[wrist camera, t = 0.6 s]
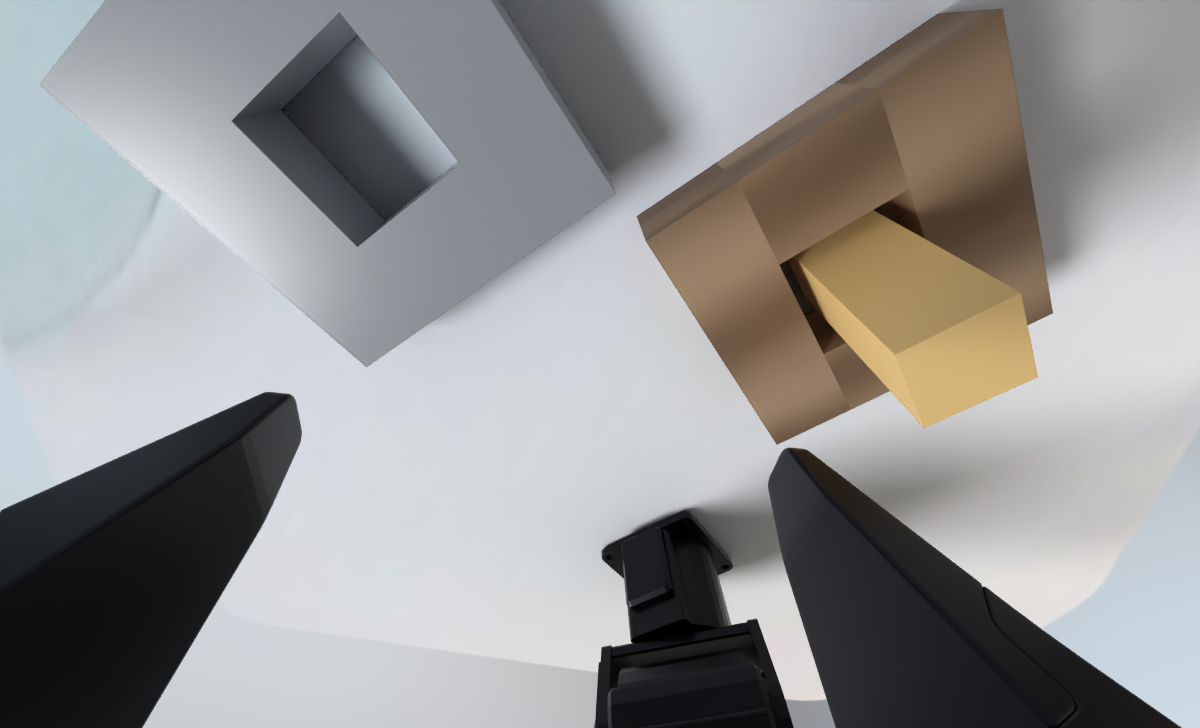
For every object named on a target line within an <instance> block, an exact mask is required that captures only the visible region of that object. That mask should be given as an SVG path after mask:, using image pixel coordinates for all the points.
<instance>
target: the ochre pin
mask: <svg viewBox="0 0 1200 728" xmlns="http://www.w3.org/2000/svg"><path fill="white" fill-rule="evenodd" d="M788 262H789V264H790V266H791V268H792V270H793V272H794V274H795V276H796V278H797V280H798V282H799V285H800V287H801V289H802V291H803V293H804V295H805V297H806V299H807V300H808V301H809V302H810V303H811V304H812V305H813V306H814V307H815V309H816V310H817V311H818V312H819V313H820V314H821V315H822V316H823V317H824V319H825V320H826V321H827V322H828V323H829V324H830V325H831V326H832V327H833V328H834V330H835V331H836V332H837V333H838V334H839V335H840V336H841V337H842V338H843V339H844V341H845V342H846V343H847V344H848V345H849V346H850V347H851V348H852V349H853V350H854V352H855V353H856V354H857V355H858V356H859V357H860V358H861V359H862V360H863V361H864V363H865V364H866V365H867V366H868V367H869V368H870V369H871V370H872V371H873V372H874V374H875V375H876V376H877V377H878V378H879V379H880V380H881V381H882V382H883V383H884V385H885V386H886V387H887V388H888V389H889V390H890V391H891V392H892V393H893V394H894V396H895V397H896V398H897V399H898V400H899V401H900V402H901V403H902V404H903V405H904V407H905V408H906V409H907V410H908V411H909V412H910V413H911V414H912V415H913V416H914V418H915V419H916V420H917V421H918V422H919V423H920V424H921V425H922V426H923V427H924V428H925V427H927V426H930V425H932V424H934V423H936V422H939V421H941V420H943V419H945V418H947V417H950V416H952V415H954V414H956V413H959V412H961V411H963V410H965V409H968V408H970V407H972V406H974V405H977V404H979V403H981V402H983V401H986V400H988V399H990V398H992V397H994V396H997V395H999V394H1001V393H1003V392H1006V391H1008V390H1010V389H1012V388H1015V387H1017V386H1019V385H1021V384H1024V383H1026V382H1028V381H1030V380H1032V379H1035V378H1037V377H1038V375H1037V370H1036V365H1035V360H1034V355H1033V350H1032V345H1031V340H1030V335H1029V331H1028V326H1027V321H1026V316H1025V311H1024V306H1023V301H1022V296H1021V292H1019V291H1017V290H1015V289H1013V288H1012V287H1010V286H1008V285H1006V284H1004V283H1003V282H1001V281H999V280H997V279H996V278H994V277H992V276H990V275H988V274H987V273H985V272H983V271H981V270H979V269H978V268H976V267H974V266H972V265H970V264H969V263H967V262H965V261H963V260H961V259H960V258H958V257H956V256H954V255H953V254H951V253H949V252H947V251H945V250H944V249H942V248H940V247H938V246H936V245H935V244H933V243H931V242H929V241H927V240H926V239H924V238H922V237H920V236H919V235H917V234H915V233H913V232H911V231H910V230H908V229H906V228H904V227H902V226H901V225H899V224H897V223H895V222H893V221H892V220H890V219H888V218H886V217H884V216H883V215H881V214H879V213H877V212H876V211H874V210H872V211H870V212H869V213H867V214H865V215H864V216H862V217H860V218H858V219H857V220H855V221H853V222H852V223H850V224H848V225H846V226H845V227H843V228H841V229H840V230H838V231H836V232H835V233H833V234H831V235H829V236H828V237H826V238H824V239H823V240H821V241H819V242H817V243H816V244H814V245H812V246H811V247H809V248H807V249H805V250H804V251H802V252H800V253H799V254H797V255H795V256H793V257H792V258H790V259H788Z"/></svg>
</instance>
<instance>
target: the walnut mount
mask: <svg viewBox="0 0 1200 728" xmlns="http://www.w3.org/2000/svg"><path fill="white" fill-rule="evenodd" d="M877 207H879V209H880V212H881V215H883V216H884V217H886V218H888V219H890V220H892V221H893V222H895V223H897V224H899V225H901V226H902V227H904V228H906V229H908V230H910V231H911V232H913V233H915V234H917V235H919V236H920V237H922V238H924V239H926V240H927V241H929V242H931V243H933V244H935V245H936V246H938V247H940V248H942V249H944V250H945V251H947V252H949V253H951V254H953V255H954V256H956V257H958V258H960V259H961V260H963V261H965V262H967V263H969V264H970V265H972V266H974V267H976V268H978V269H979V270H981V271H983V272H985V273H987V274H988V275H990V276H992V277H994V278H996V279H997V280H999V281H1001V282H1003V283H1004V284H1006V285H1008V286H1010V287H1012V288H1013V289H1015V290H1017V291H1019V292H1021V296H1022V301H1023V306H1024V311H1025V316H1026V321H1027V325H1029V324H1031V323H1033V322H1036V321H1038V320H1040V319H1042V318H1044V317H1046V316H1048V315H1050V314H1052V313H1053V311H1052V305H1051V299H1050V293H1049V287H1048V281H1047V275H1046V269H1045V263H1044V257H1043V251H1042V245H1041V239H1040V233H1039V227H1038V221H1037V215H1036V209H1035V202H1034V196H1033V190H1032V184H1031V178H1030V172H1029V166H1028V160H1027V154H1026V148H1025V142H1024V136H1023V130H1022V124H1021V118H1020V112H1019V106H1018V100H1017V94H1016V88H1015V82H1014V76H1013V69H1012V63H1011V57H1010V51H1009V45H1008V39H1007V33H1006V27H1005V21H1004V15H1003V9H994V10H981V11H969V12H956V13H944V14H937V15H936V16H934V17H933V18H931V19H930V20H928V21H927V22H925V23H924V24H922V25H921V26H919V27H918V28H916V29H915V30H913V31H912V32H910V33H909V34H907V35H906V36H904V37H903V38H901V39H900V40H898V41H897V42H895V43H894V44H892V45H891V46H889V47H888V48H887V49H885V50H884V51H882V52H881V53H879V54H878V55H876V56H875V57H873V58H872V59H870V60H869V61H867V62H866V63H864V64H863V65H861V66H860V67H858V68H857V69H855V70H854V71H852V72H851V73H849V74H848V75H846V76H845V77H843V78H842V79H840V80H839V81H837V82H836V83H834V84H833V85H832V86H830V87H829V88H827V89H826V90H824V91H823V92H821V93H820V94H818V95H817V96H815V97H814V98H812V99H811V100H809V101H808V102H806V103H805V104H803V105H802V106H800V107H799V108H797V109H796V110H794V111H793V112H791V113H790V114H788V115H787V116H785V117H784V118H782V119H781V120H779V121H778V122H776V123H775V124H774V125H772V126H771V127H769V128H768V129H766V130H765V131H763V132H762V133H760V134H759V135H757V136H756V137H754V138H753V139H751V140H750V141H748V142H747V143H745V144H744V145H742V146H741V147H739V148H738V149H736V150H735V151H733V152H732V153H730V154H729V155H727V156H726V157H724V158H723V159H721V160H720V161H719V162H717V163H716V164H714V165H713V166H711V167H710V168H708V169H707V170H705V171H704V172H702V173H701V174H699V175H698V176H696V177H695V178H693V179H692V180H690V181H689V182H687V183H686V184H684V185H683V186H681V187H680V188H678V189H677V190H675V191H674V192H672V193H671V194H669V195H668V196H666V197H665V198H664V199H662V200H661V201H659V202H658V203H656V204H655V205H653V206H652V207H650V208H649V209H647V210H646V211H644V212H643V213H641V214H640V215H638V216H637V218H638V221H639V223H640V226H641V229H642V232H643V235H644V237H645V240H646V242H647V244H648V245H649V247H650V248H651V250H652V251H653V253H654V255H655V256H656V258H657V259H658V261H659V262H660V264H661V265H662V267H663V269H664V270H665V272H666V273H667V275H668V276H669V278H670V279H671V281H672V283H673V284H674V286H675V287H676V289H677V290H678V292H679V293H680V295H681V297H682V298H683V300H684V301H685V303H686V304H687V306H688V307H689V309H690V310H691V312H692V314H693V315H694V317H695V318H696V320H697V321H698V323H699V324H700V326H701V328H702V329H703V331H704V332H705V334H706V335H707V337H708V338H709V340H710V342H711V343H712V345H713V346H714V348H715V349H716V351H717V352H718V354H719V356H720V357H721V359H722V360H723V362H724V363H725V365H726V366H727V368H728V370H729V371H730V373H731V374H732V376H733V377H734V379H735V380H736V382H737V383H738V385H739V387H740V388H741V390H742V391H743V393H744V394H745V396H746V397H747V399H748V401H749V402H750V404H751V405H752V407H753V408H754V410H755V411H756V413H757V415H758V416H759V418H760V419H761V421H762V422H763V424H764V425H765V427H766V429H767V430H768V432H769V433H770V435H771V436H772V438H773V439H774V441H775V442H776V444H779V443H782V442H784V441H786V440H788V439H790V438H792V437H794V436H796V435H798V434H800V433H803V432H805V431H807V430H809V429H811V428H813V427H815V426H817V425H819V424H821V423H824V422H826V421H828V420H830V419H832V418H834V417H836V416H838V415H840V414H842V413H845V412H847V411H849V410H851V409H853V408H855V407H857V406H859V405H861V404H863V403H866V402H868V401H870V400H872V399H874V398H876V397H878V396H880V395H882V394H884V393H887V392H889V391H890V390H889V389H888V388H887V387H886V386H885V385H884V383H883V382H882V381H881V380H880V379H879V378H878V377H877V376H876V375H875V374H874V372H873V371H872V370H871V369H870V368H869V367H868V366H867V365H866V364H865V363H864V361H863V360H862V359H861V358H860V357H859V356H858V355H857V354H856V353H855V352H854V350H853V349H852V348H851V347H850V346H849V345H848V344H847V343H846V342H845V341H844V339H843V338H842V337H841V336H840V335H839V334H838V333H837V332H836V331H835V330H834V328H833V327H832V326H831V325H830V324H829V323H828V322H827V321H826V320H825V319H824V317H823V316H822V315H821V314H820V313H819V312H818V311H817V310H814V311H813V312H811V313H809V314H807V315H805V316H804V314H803V312H802V310H801V308H800V306H799V304H798V302H797V300H796V298H795V296H794V294H793V292H792V290H791V288H790V286H789V284H788V282H787V280H786V278H785V276H784V274H783V272H782V269H781V267H780V264H782V263H783V262H785V261H787V260H788V259H790V258H792V257H793V256H795V255H797V254H799V253H800V252H802V251H804V250H805V249H807V248H809V247H811V246H812V245H814V244H816V243H817V242H819V241H821V240H823V239H824V238H826V237H828V236H829V235H831V234H833V233H835V232H836V231H838V230H840V229H841V228H843V227H845V226H846V225H848V224H850V223H852V222H853V221H855V220H857V219H858V218H860V217H862V216H864V215H865V214H867V213H869V212H870V211H872V210H874V209H876V208H877Z"/></svg>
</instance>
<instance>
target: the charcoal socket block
mask: <svg viewBox="0 0 1200 728" xmlns="http://www.w3.org/2000/svg"><path fill="white" fill-rule="evenodd" d="M357 35H358V36H359V37H360V38H361V40H362V41H363V42H364V43H365V45H366V46H367V47H368V49H369V50H370V51H371V52H372V54H373V55H374V56H375V57H376V59H377V60H378V61H379V62H380V64H381V65H382V66H383V67H384V69H385V70H386V71H387V72H388V74H389V75H390V76H391V77H392V79H393V80H394V81H395V83H396V84H397V85H398V86H399V88H400V89H401V90H402V91H403V93H404V94H405V95H406V96H407V98H408V99H409V100H410V101H411V103H412V104H413V105H414V106H415V108H416V109H417V110H418V111H419V113H420V114H421V115H422V116H423V118H424V119H425V120H426V122H427V123H428V124H429V125H430V127H431V128H432V129H433V130H434V132H435V133H436V134H437V135H438V137H439V138H440V139H441V140H442V142H443V143H444V144H445V145H446V147H447V148H448V149H449V150H450V152H451V153H452V154H453V156H454V157H455V158H456V159H457V161H458V163H457V164H455V165H454V166H453V167H452V168H451V169H449V170H448V171H447V172H446V173H444V174H443V175H442V176H441V177H439V178H438V179H437V180H436V181H434V182H433V183H432V184H431V185H429V186H428V187H427V188H426V189H424V190H423V191H422V192H421V193H419V194H418V195H417V196H416V197H414V198H413V199H412V200H411V201H409V202H408V203H407V204H406V205H404V206H403V207H402V208H401V209H400V210H398V211H397V212H396V213H395V214H393V215H392V216H391V217H390V218H388V219H387V220H386V221H385V220H384V219H383V218H382V217H381V216H380V215H379V214H378V213H377V212H376V211H375V210H374V209H373V207H372V206H371V205H370V204H369V203H368V202H367V201H366V200H365V199H364V198H363V197H362V196H361V195H360V194H359V193H358V191H357V190H356V189H355V188H354V187H353V186H352V185H351V184H350V183H349V182H348V181H347V180H346V179H345V178H344V177H343V175H342V174H341V173H340V172H339V171H338V170H337V169H336V168H335V167H334V166H333V165H332V164H331V163H330V162H329V161H328V159H327V158H326V157H325V156H324V155H323V154H322V153H321V152H320V151H319V150H318V149H317V148H316V147H315V146H314V144H313V143H312V142H311V141H310V140H309V139H308V138H307V137H306V136H305V135H304V134H303V133H302V132H301V131H300V130H299V128H298V127H297V126H296V125H295V124H294V123H293V122H292V121H291V120H290V119H289V118H288V117H287V116H286V115H285V114H284V112H283V111H282V110H281V109H282V108H283V107H284V106H285V105H286V104H287V103H288V102H289V101H290V100H291V99H292V98H294V97H295V96H296V95H297V94H298V93H299V92H300V91H301V90H302V89H303V88H304V87H305V86H306V85H307V84H308V83H309V82H310V81H311V80H312V79H313V78H314V77H315V76H316V75H317V74H318V73H319V72H320V71H321V70H322V69H323V68H324V67H325V66H326V65H327V64H328V63H329V62H330V61H332V60H333V59H334V58H335V57H336V56H337V55H338V54H339V53H340V52H341V51H342V50H343V49H344V48H345V47H346V46H347V45H348V44H349V43H350V42H351V41H352V40H353V39H354V38H355V37H356V36H357ZM39 85H40V86H41V87H42V88H43V89H44V90H46V91H47V92H48V93H49V94H50V95H51V96H53V97H54V98H55V99H56V100H57V101H58V102H60V103H61V104H62V105H63V106H64V107H65V108H66V109H68V110H69V111H70V112H71V113H72V114H73V115H75V116H76V117H77V118H78V119H79V120H80V121H82V122H83V123H84V124H85V125H86V126H87V127H89V128H90V129H91V130H92V131H93V132H94V133H95V134H97V135H98V136H99V137H100V138H101V139H102V140H104V141H105V142H106V143H107V144H108V145H109V146H111V147H112V148H113V149H114V150H115V151H116V152H117V153H119V154H120V155H121V156H122V157H123V158H124V159H126V160H127V161H128V162H129V163H130V164H131V165H133V166H134V167H135V168H136V169H137V170H138V171H140V172H141V173H142V174H143V175H144V176H145V177H146V178H148V179H149V180H150V181H151V182H152V183H153V184H155V185H156V186H157V187H158V188H159V189H160V190H162V191H163V192H164V193H165V194H166V195H167V196H169V197H170V198H171V199H172V200H173V201H174V202H175V203H177V204H178V205H179V206H180V207H181V208H182V209H184V210H185V211H186V212H187V213H188V214H189V215H191V216H192V217H193V218H194V219H195V220H196V221H197V222H199V223H200V224H201V225H202V226H203V227H204V228H206V229H207V230H208V231H209V232H210V233H211V234H213V235H214V236H215V237H216V238H217V239H218V240H220V241H221V242H222V243H223V244H224V245H225V246H226V247H228V248H229V249H230V250H231V251H232V252H233V253H235V254H236V255H237V256H238V257H239V258H240V259H242V260H243V261H244V262H245V263H246V264H247V265H248V266H250V267H251V268H252V269H253V270H254V271H255V272H257V273H258V274H259V275H260V276H261V277H262V278H264V279H265V280H266V281H267V282H268V283H269V284H271V285H272V286H273V287H274V288H275V289H276V290H277V291H279V292H280V293H281V294H282V295H283V296H284V297H286V298H287V299H288V300H289V301H290V302H291V303H293V304H294V305H295V306H296V307H297V308H298V309H300V310H301V311H302V312H303V313H304V314H305V315H306V316H308V317H309V318H310V319H311V320H312V321H313V322H315V323H316V324H317V325H318V326H319V327H320V328H322V329H323V330H324V331H325V332H326V333H327V334H328V335H330V336H331V337H332V338H333V339H334V340H335V341H337V342H338V343H339V344H340V345H341V346H342V347H344V348H345V349H346V350H347V351H348V352H349V353H351V354H352V355H353V356H354V357H355V358H356V359H357V360H359V361H360V362H361V363H362V364H363V365H364V366H366V367H368V366H369V365H371V364H372V363H373V362H375V361H376V360H378V359H379V358H381V357H382V356H383V355H385V354H386V353H388V352H389V351H391V350H392V349H393V348H395V347H396V346H398V345H399V344H401V343H402V342H403V341H405V340H406V339H408V338H409V337H411V336H412V335H414V334H415V333H416V332H418V331H419V330H421V329H422V328H424V327H425V326H426V325H428V324H429V323H431V322H432V321H434V320H435V319H436V318H438V317H439V316H441V315H442V314H444V313H445V312H446V311H448V310H449V309H451V308H452V307H454V306H455V305H456V304H458V303H459V302H461V301H462V300H464V299H465V298H467V297H468V296H469V295H471V294H472V293H474V292H475V291H477V290H478V289H479V288H481V287H482V286H484V285H485V284H487V283H488V282H489V281H491V280H492V279H494V278H495V277H497V276H498V275H499V274H501V273H502V272H504V271H505V270H507V269H508V268H510V267H511V266H512V265H514V264H515V263H517V262H518V261H520V260H521V259H522V258H524V257H525V256H527V255H528V254H530V253H531V252H532V251H534V250H535V249H537V248H538V247H540V246H541V245H542V244H544V243H545V242H547V241H548V240H550V239H551V238H553V237H554V236H555V235H557V234H558V233H560V232H561V231H563V230H564V229H565V228H567V227H568V226H570V225H571V224H573V223H574V222H575V221H577V220H578V219H580V218H581V217H583V216H584V215H585V214H587V213H588V212H590V211H591V210H593V209H594V208H596V207H597V206H598V205H600V204H601V203H603V202H604V201H606V200H607V199H608V198H610V197H611V196H613V195H614V194H615V191H614V187H613V183H612V180H611V176H610V173H609V172H608V170H607V168H606V167H605V165H604V164H603V162H602V161H601V159H600V157H599V156H598V154H597V153H596V151H595V150H594V148H593V146H592V145H591V143H590V142H589V140H588V139H587V137H586V135H585V134H584V132H583V131H582V129H581V127H580V126H579V124H578V123H577V121H576V120H575V118H574V116H573V115H572V113H571V112H570V110H569V109H568V107H567V105H566V104H565V102H564V101H563V99H562V98H561V96H560V94H559V93H558V91H557V90H556V88H555V87H554V85H553V83H552V82H551V80H550V79H549V77H548V76H547V74H546V72H545V71H544V69H543V68H542V66H541V65H540V63H539V61H538V60H537V58H536V57H535V55H534V54H533V52H532V50H531V49H530V47H529V46H528V44H527V43H526V41H525V39H524V38H523V36H522V35H521V33H520V32H519V30H518V28H517V27H516V25H515V24H514V22H513V21H512V19H511V17H510V16H509V14H508V13H507V11H506V9H505V8H504V6H503V5H502V3H501V2H500V0H105V2H104V3H103V4H102V5H101V7H100V8H99V9H98V10H97V12H96V13H95V14H94V16H93V17H92V18H91V19H90V21H89V22H88V23H87V24H86V26H85V27H84V28H83V29H82V31H81V32H80V33H79V34H78V36H77V37H76V38H75V40H74V41H73V42H72V43H71V45H70V46H69V47H68V48H67V50H66V51H65V52H64V53H63V55H62V56H61V57H60V58H59V60H58V61H57V62H56V64H55V65H54V66H53V67H52V69H51V70H50V71H49V72H48V74H47V75H46V76H45V77H44V79H43V80H42V81H41V82H40V84H39Z"/></svg>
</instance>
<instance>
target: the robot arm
mask: <svg viewBox="0 0 1200 728" xmlns="http://www.w3.org/2000/svg"><path fill="white" fill-rule="evenodd" d="M301 437H302V430H301V425H300V419H299V414H298V409H297V404H296V401H295V398H294V397H293V396H292V395H290V394H284V393H275V392H265V393H262V394H260V395H258V396H255V397H253V398H251V399H249V400H246V401H244V402H242V403H240V404H238V405H235V406H233V407H231V408H229V409H226V410H224V411H222V412H220V413H217V414H215V415H213V416H211V417H208V418H206V419H204V420H202V421H199V422H197V423H195V424H193V425H191V426H188V427H186V428H184V429H182V430H179V431H177V432H175V433H173V434H170V435H168V436H166V437H164V438H161V439H159V440H157V441H155V442H152V443H150V444H148V445H146V446H144V447H141V448H139V449H137V450H135V451H132V452H130V453H128V454H126V455H123V456H121V457H119V458H117V459H114V460H112V461H110V462H108V463H105V464H103V465H101V466H99V467H96V468H94V469H92V470H90V471H88V472H85V473H83V474H81V475H79V476H76V477H74V478H72V479H70V480H67V481H65V482H63V483H61V484H58V485H56V486H54V487H52V488H49V489H47V490H45V491H43V492H40V493H38V494H36V495H34V496H32V497H29V498H27V499H25V500H23V501H20V502H18V503H16V504H14V505H11V506H9V507H7V508H5V509H3V510H1V512H0V728H142V727H143V726H144V724H145V722H146V721H147V719H148V717H149V715H150V714H151V712H152V710H153V709H154V707H155V705H156V703H157V702H158V700H159V699H160V697H161V695H162V694H163V692H164V690H165V689H166V687H167V685H168V684H169V682H170V680H171V679H172V677H173V675H174V674H175V672H176V670H177V668H178V667H179V665H180V663H181V662H182V660H183V658H184V657H185V655H186V653H187V652H188V650H189V648H190V647H191V645H192V643H193V642H194V639H195V638H196V637H197V635H198V633H199V631H200V630H201V628H202V626H203V625H204V623H205V621H206V620H207V618H208V616H209V615H210V613H211V611H212V610H213V608H214V606H215V605H216V603H217V601H218V600H219V598H220V596H221V595H222V593H223V591H224V590H225V588H226V586H227V584H228V583H229V581H230V579H231V578H232V576H233V574H234V573H235V571H236V569H237V568H238V566H239V564H240V563H241V561H242V559H243V558H244V556H245V554H246V553H247V551H248V549H249V548H250V546H251V544H252V542H253V541H254V539H255V537H256V536H257V534H258V532H259V530H260V529H261V527H262V525H263V523H264V522H265V520H266V517H267V515H268V513H269V511H270V509H271V507H272V505H273V503H274V500H275V498H276V496H277V494H278V491H279V489H280V487H281V485H282V483H283V480H284V478H285V476H286V474H287V471H288V469H289V467H290V465H291V463H292V460H293V458H294V456H295V454H296V451H297V449H298V447H299V445H300V442H301ZM768 489H769V495H770V499H771V504H772V509H773V514H774V519H775V524H776V529H777V534H778V539H779V544H780V549H781V553H782V557H783V561H784V565H785V568H786V572H787V575H788V578H789V581H790V585H791V588H792V591H793V594H794V597H795V600H796V603H797V607H798V610H799V613H800V616H801V619H802V622H803V626H804V629H805V632H806V635H807V638H808V641H809V645H810V648H811V651H812V654H813V657H814V660H815V663H816V667H817V670H818V673H819V676H820V679H821V682H822V686H823V689H824V692H825V695H826V698H827V701H828V705H829V707H830V711H831V714H832V717H833V720H834V723H835V726H836V728H1181V727H1180V726H1178V725H1177V724H1175V723H1174V722H1173V721H1171V720H1170V719H1168V718H1167V717H1166V716H1164V715H1163V714H1161V713H1160V712H1158V711H1157V710H1156V709H1154V708H1153V707H1151V706H1150V705H1148V704H1147V703H1145V702H1144V701H1143V700H1141V699H1140V698H1138V697H1137V696H1136V695H1134V694H1132V693H1131V692H1130V691H1128V690H1127V689H1125V688H1124V687H1123V686H1121V685H1120V684H1118V683H1117V682H1115V681H1114V680H1113V679H1111V678H1110V677H1108V676H1107V675H1105V674H1104V673H1103V672H1101V671H1100V670H1098V669H1097V668H1095V667H1094V666H1093V665H1091V664H1090V663H1088V662H1087V661H1085V660H1084V659H1083V658H1081V657H1080V656H1078V655H1077V654H1076V653H1074V652H1073V651H1071V650H1070V649H1068V648H1067V647H1066V646H1064V645H1063V644H1061V643H1060V642H1059V641H1057V640H1056V639H1054V638H1053V637H1052V636H1050V635H1049V634H1047V633H1046V632H1045V631H1043V630H1042V629H1041V628H1039V627H1038V626H1037V625H1035V624H1034V623H1033V622H1031V621H1030V620H1029V619H1027V618H1026V617H1025V616H1023V615H1022V614H1021V613H1019V612H1018V611H1017V610H1015V609H1014V608H1013V607H1011V606H1010V605H1009V604H1007V603H1006V602H1005V601H1003V600H1002V599H1001V598H999V597H998V596H997V595H996V594H994V593H993V592H992V591H990V590H989V589H988V588H986V587H982V585H981V583H980V582H979V581H977V580H976V579H975V578H973V577H972V576H971V575H969V574H968V573H967V572H966V571H964V570H963V569H962V568H960V567H959V566H958V565H956V564H955V563H954V562H952V561H951V560H950V559H949V558H947V557H946V556H945V555H943V554H942V553H941V552H939V551H938V550H937V549H936V548H934V547H933V546H932V545H930V544H929V543H928V542H926V541H925V540H924V539H923V538H921V537H920V536H919V535H917V534H916V533H915V532H913V531H912V530H911V529H910V528H908V527H907V526H906V525H904V524H903V523H902V522H900V521H899V520H898V519H896V518H895V517H894V516H893V515H891V514H890V513H889V512H887V511H886V510H885V509H883V508H882V507H881V506H880V505H878V504H877V503H876V502H874V501H873V500H872V499H870V498H869V497H868V496H867V495H865V494H864V493H863V492H861V491H860V490H859V489H857V488H856V487H855V486H854V485H852V484H851V483H850V482H848V481H847V480H846V479H844V478H843V477H842V476H841V475H839V474H838V473H837V472H835V471H834V470H833V469H831V468H830V467H829V466H827V465H826V464H825V463H824V462H822V461H821V460H820V459H818V458H817V457H816V456H814V455H813V454H812V453H811V452H809V451H808V450H805V449H798V448H786V449H784V450H783V451H782V453H781V454H780V456H779V459H778V461H777V463H776V465H775V467H774V469H773V471H772V473H771V475H770V478H769V482H768ZM602 559H603V561H604V562H606V563H607V564H608V565H609V566H610V567H611V568H612V569H614V570H615V571H616V572H617V573H618V574H619V575H620V576H621V577H623V578H624V581H625V592H626V603H627V606H628V616H629V627H630V638H631V642H632V643H631V644H626V645H621V646H615V647H612V646H611V645H610V646H605V647H602V651H601V662H599V669H598V687H597V703H596V720H595V725H594V728H793V724H792V721H791V718H790V714H789V711H788V708H787V704H786V701H785V698H784V695H783V692H782V689H781V686H780V683H779V680H778V677H777V674H776V672H775V669H774V666H773V663H772V660H771V657H770V655H769V652H768V649H767V646H766V643H765V640H764V638H763V635H762V632H761V629H760V626H759V623H758V621H757V619H752V620H747V622H746V623H741V624H735V625H731V622H730V618H729V614H728V611H727V607H726V603H725V600H724V596H723V592H722V588H721V585H720V581H719V577H718V575H719V574H722V573H724V572H726V571H729V570H731V569H732V568H733V564H732V561H731V559H730V557H729V556H728V555H727V554H726V553H725V552H724V551H723V549H722V548H721V547H720V546H719V545H718V544H717V543H716V542H715V540H714V539H713V538H712V537H711V536H710V535H709V534H708V532H707V531H706V530H705V529H704V528H703V527H702V526H701V524H700V523H699V522H698V521H697V520H696V519H695V518H694V517H693V515H692V514H690V513H688V512H682V513H680V514H677V515H675V516H673V517H671V518H669V519H667V520H664V521H662V522H660V523H658V524H656V525H654V526H651V527H649V528H647V529H645V530H643V531H641V532H638V533H636V534H634V535H632V536H630V537H628V538H625V539H623V540H621V541H619V542H617V543H615V544H612V545H610V546H608V547H606V548H604V549H603V550H602Z"/></svg>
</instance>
